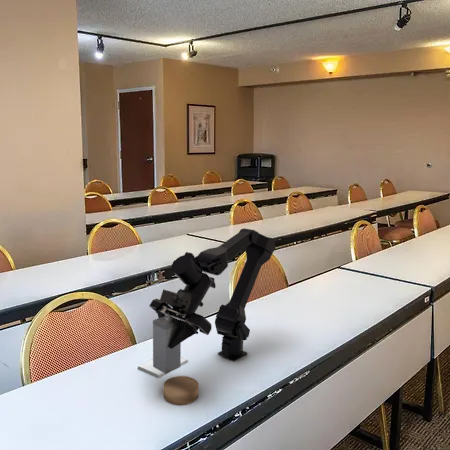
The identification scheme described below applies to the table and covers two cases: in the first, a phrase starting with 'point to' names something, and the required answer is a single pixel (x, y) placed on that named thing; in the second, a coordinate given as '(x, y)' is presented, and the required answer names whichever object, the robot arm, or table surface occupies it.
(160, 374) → the external hard drive
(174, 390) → the stand
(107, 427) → the table surface
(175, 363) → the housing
